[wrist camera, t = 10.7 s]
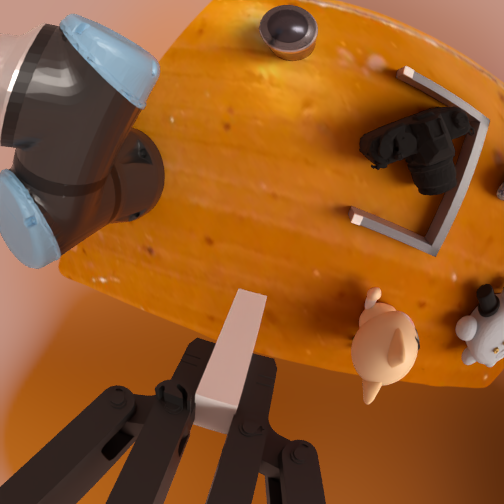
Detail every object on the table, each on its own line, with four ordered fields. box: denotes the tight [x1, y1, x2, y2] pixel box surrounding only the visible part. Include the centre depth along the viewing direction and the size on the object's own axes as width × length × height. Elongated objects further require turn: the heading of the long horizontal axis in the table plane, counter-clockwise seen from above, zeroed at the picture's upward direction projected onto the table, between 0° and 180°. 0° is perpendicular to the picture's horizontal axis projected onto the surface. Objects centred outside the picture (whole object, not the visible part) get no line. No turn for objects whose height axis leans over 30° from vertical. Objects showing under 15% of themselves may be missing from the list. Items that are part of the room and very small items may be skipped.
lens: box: [259, 5, 318, 61], centre depth 24 cm, size 6×6×6 cm
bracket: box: [348, 66, 490, 257], centre depth 29 cm, size 14×21×3 cm, turn 165°
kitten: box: [351, 287, 420, 404], centre depth 36 cm, size 15×10×15 cm
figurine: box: [455, 284, 504, 367], centre depth 34 cm, size 17×8×20 cm
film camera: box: [359, 106, 475, 195], centre depth 26 cm, size 15×10×9 cm, turn 118°
